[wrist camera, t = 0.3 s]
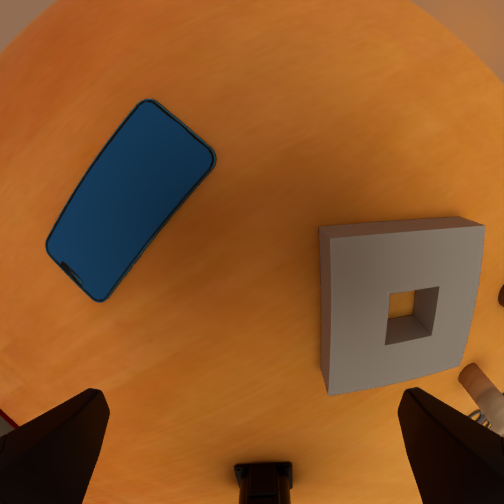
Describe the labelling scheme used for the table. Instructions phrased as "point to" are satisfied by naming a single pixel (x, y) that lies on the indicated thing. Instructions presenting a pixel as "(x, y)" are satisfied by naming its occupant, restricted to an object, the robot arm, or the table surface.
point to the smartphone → (127, 197)
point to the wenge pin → (501, 296)
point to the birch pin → (484, 395)
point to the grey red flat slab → (6, 424)
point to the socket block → (395, 281)
